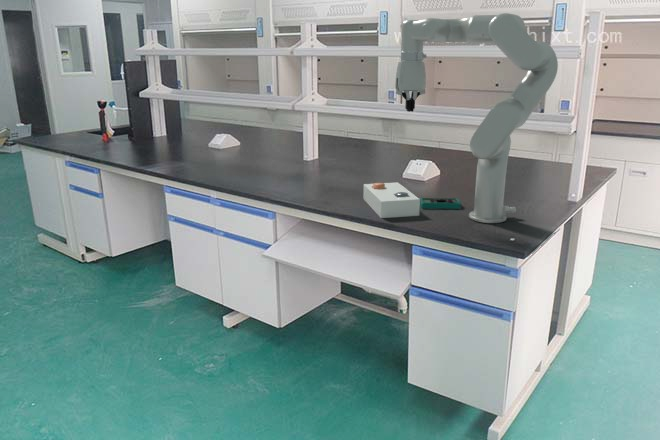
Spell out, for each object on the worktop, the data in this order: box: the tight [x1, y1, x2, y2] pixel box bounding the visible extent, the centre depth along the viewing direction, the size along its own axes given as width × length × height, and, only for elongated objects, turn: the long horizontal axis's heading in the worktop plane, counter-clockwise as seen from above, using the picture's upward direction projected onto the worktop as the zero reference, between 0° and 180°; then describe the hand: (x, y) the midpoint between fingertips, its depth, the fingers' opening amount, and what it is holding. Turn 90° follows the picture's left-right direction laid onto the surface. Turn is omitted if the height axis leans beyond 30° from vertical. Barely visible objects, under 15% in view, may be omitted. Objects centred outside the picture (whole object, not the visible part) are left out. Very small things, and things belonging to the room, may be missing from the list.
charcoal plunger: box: [396, 192, 408, 197], centre depth 191 cm, size 4×4×6 cm
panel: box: [363, 181, 421, 219], centre depth 197 cm, size 14×26×6 cm, turn 10°
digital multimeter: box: [419, 197, 462, 210], centre depth 198 cm, size 7×15×3 cm, turn 87°
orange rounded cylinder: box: [372, 182, 385, 189], centre depth 202 cm, size 4×4×6 cm
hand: (409, 111), depth 190 cm, fingers closed
